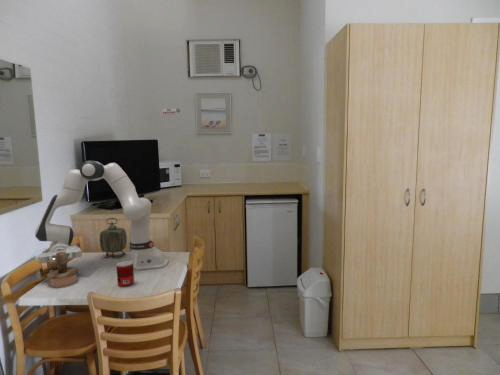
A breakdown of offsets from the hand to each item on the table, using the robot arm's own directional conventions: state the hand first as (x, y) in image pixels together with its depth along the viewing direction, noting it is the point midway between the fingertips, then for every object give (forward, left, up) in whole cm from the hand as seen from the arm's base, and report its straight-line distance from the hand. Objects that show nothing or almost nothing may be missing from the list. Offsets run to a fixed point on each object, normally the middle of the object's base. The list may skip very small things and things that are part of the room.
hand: (61, 259), depth 183 cm
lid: (0, -1, -8) cm, 8 cm away
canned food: (-33, +3, -13) cm, 35 cm away
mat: (-2, -16, -13) cm, 20 cm away
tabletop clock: (-11, -45, -13) cm, 48 cm away
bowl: (0, -1, -13) cm, 13 cm away
